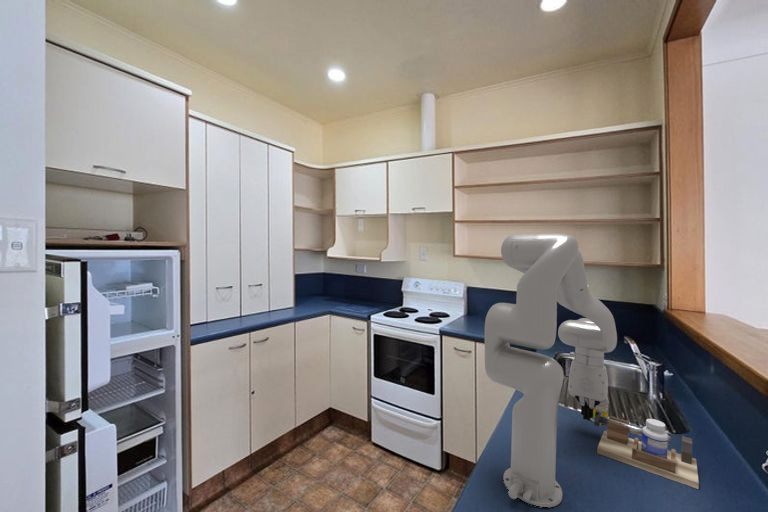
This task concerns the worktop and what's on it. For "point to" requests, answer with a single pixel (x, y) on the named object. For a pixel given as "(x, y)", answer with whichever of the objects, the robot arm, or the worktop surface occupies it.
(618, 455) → the shaft bracket
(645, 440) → the pill bottle
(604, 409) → the supplement bottle
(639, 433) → the steel shaft
